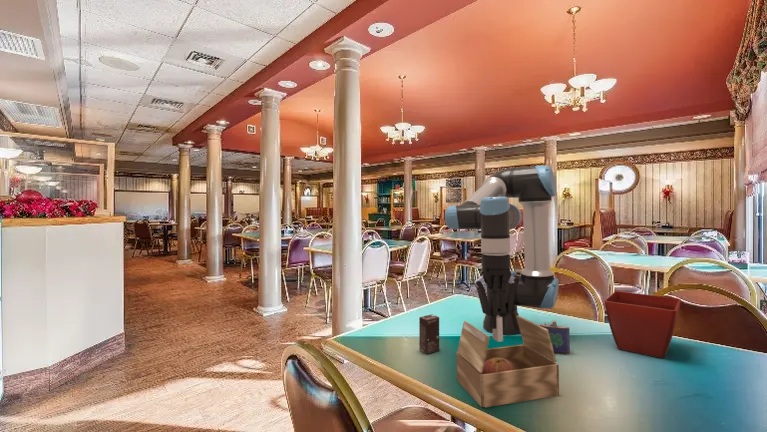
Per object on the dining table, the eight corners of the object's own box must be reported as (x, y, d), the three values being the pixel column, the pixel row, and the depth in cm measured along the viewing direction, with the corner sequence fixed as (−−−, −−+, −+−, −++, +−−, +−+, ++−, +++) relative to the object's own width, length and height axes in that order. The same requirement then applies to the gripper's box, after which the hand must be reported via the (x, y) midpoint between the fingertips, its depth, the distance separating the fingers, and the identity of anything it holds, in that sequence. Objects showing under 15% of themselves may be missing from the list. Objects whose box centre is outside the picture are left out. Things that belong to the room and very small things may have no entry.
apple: (512, 400, 92) (511, 369, 92) (478, 391, 97) (477, 362, 97) (519, 385, 100) (518, 356, 99) (487, 378, 104) (486, 351, 104)
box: (427, 355, 122) (426, 320, 122) (419, 351, 126) (418, 316, 126) (440, 350, 125) (439, 316, 125) (432, 347, 129) (431, 313, 129)
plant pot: (681, 346, 123) (681, 297, 123) (677, 365, 109) (676, 310, 109) (616, 334, 136) (615, 290, 136) (604, 350, 122) (603, 300, 122)
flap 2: (554, 362, 94) (546, 330, 94) (523, 344, 107) (516, 315, 107) (556, 361, 94) (548, 329, 94) (525, 343, 107) (518, 315, 107)
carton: (524, 370, 108) (523, 344, 108) (559, 395, 94) (558, 364, 94) (456, 380, 104) (456, 352, 103) (482, 407, 89) (481, 375, 89)
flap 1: (459, 352, 103) (465, 321, 103) (482, 372, 90) (489, 336, 90) (456, 351, 103) (463, 320, 103) (479, 372, 90) (487, 336, 90)
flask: (569, 352, 121) (568, 320, 121) (570, 355, 118) (569, 323, 118) (539, 348, 125) (539, 318, 124) (540, 352, 122) (539, 320, 122)
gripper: (509, 250, 103) (511, 332, 103) (467, 253, 100) (469, 337, 100) (525, 253, 95) (527, 341, 96) (480, 256, 93) (482, 347, 93)
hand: (497, 339), depth 98 cm, fingers closed
